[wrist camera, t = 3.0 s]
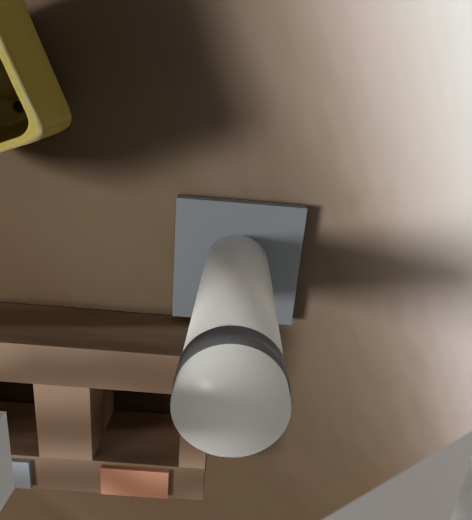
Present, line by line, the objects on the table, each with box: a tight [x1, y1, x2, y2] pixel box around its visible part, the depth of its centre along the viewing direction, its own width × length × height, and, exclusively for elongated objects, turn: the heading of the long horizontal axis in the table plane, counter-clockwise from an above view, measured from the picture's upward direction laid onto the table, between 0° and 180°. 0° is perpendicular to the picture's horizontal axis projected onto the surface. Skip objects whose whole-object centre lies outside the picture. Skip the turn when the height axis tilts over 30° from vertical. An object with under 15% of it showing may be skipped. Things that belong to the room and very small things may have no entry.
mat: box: [172, 195, 308, 325], centre depth 28 cm, size 8×8×1 cm
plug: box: [170, 235, 291, 457], centre depth 21 cm, size 4×4×14 cm
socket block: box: [0, 302, 207, 500], centre depth 29 cm, size 11×18×5 cm, turn 85°
